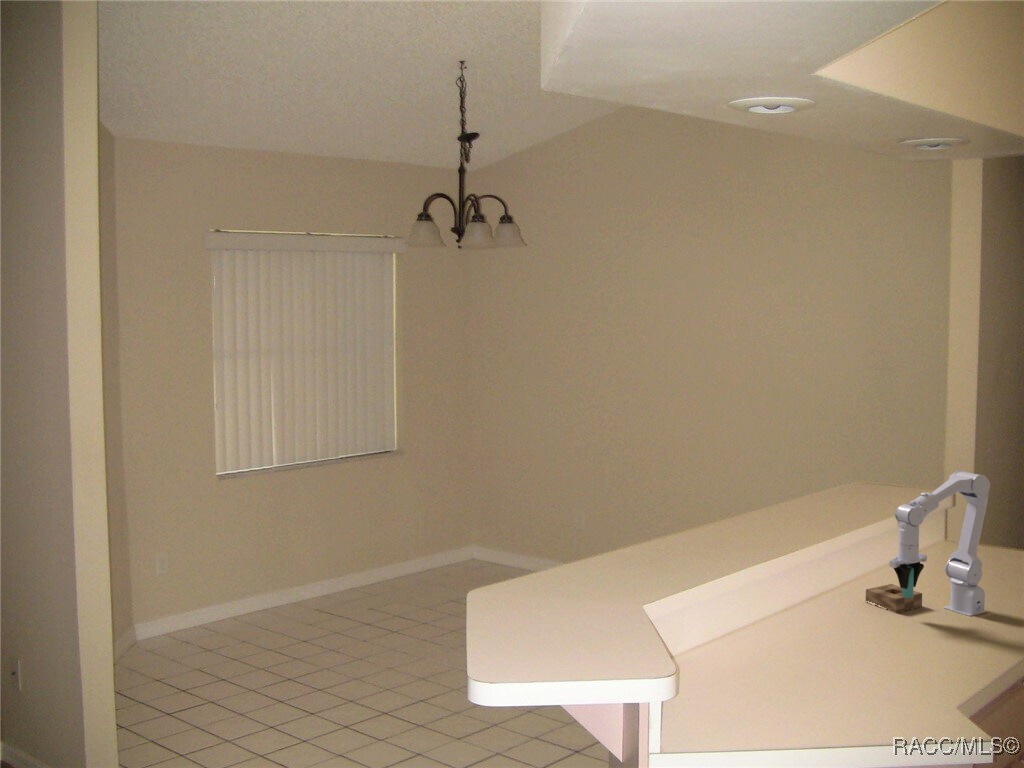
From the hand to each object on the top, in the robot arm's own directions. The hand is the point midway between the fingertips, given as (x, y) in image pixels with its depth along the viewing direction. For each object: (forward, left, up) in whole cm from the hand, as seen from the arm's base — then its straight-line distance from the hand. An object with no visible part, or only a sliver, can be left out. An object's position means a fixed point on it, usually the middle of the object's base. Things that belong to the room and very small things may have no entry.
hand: (907, 587), depth 290 cm
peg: (0, 0, -3) cm, 3 cm away
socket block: (+11, -7, -10) cm, 16 cm away
